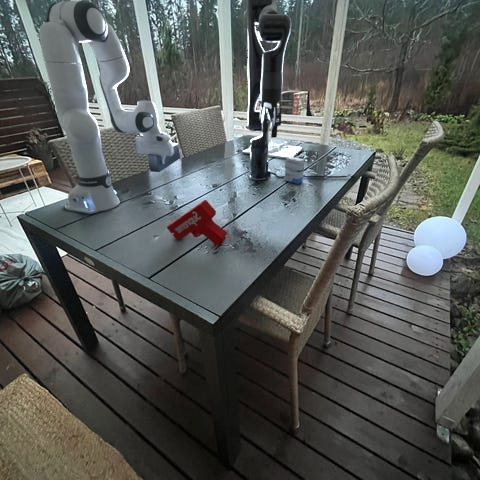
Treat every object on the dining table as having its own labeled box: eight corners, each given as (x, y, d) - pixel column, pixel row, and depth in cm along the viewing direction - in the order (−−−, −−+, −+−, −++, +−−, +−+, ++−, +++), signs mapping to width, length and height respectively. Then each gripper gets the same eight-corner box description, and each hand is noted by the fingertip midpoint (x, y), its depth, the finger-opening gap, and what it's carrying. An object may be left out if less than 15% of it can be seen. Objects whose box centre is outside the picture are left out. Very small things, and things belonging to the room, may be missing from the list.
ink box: (302, 181, 142) (305, 159, 136) (297, 184, 139) (300, 161, 133) (289, 177, 147) (291, 156, 141) (284, 180, 144) (285, 158, 138)
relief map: (291, 159, 177) (291, 151, 174) (243, 153, 190) (243, 145, 187) (302, 149, 197) (303, 142, 194) (258, 144, 211) (258, 137, 208)
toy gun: (233, 234, 92) (206, 198, 88) (229, 240, 88) (200, 203, 84) (198, 253, 102) (172, 221, 98) (193, 259, 98) (166, 227, 94)
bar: (172, 157, 164) (170, 142, 160) (180, 158, 163) (178, 143, 158) (150, 171, 144) (146, 155, 139) (159, 172, 143) (156, 155, 138)
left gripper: (130, 136, 137) (136, 163, 144) (167, 138, 132) (171, 166, 140) (137, 133, 142) (143, 160, 150) (173, 135, 137) (177, 162, 145)
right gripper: (254, 86, 101) (253, 132, 109) (269, 88, 89) (267, 139, 98) (272, 85, 103) (270, 130, 111) (290, 87, 91) (286, 138, 100)
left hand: (157, 163), depth 145 cm, fingers closed on bar, 5 cm apart
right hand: (269, 135), depth 105 cm, fingers open, 8 cm apart
